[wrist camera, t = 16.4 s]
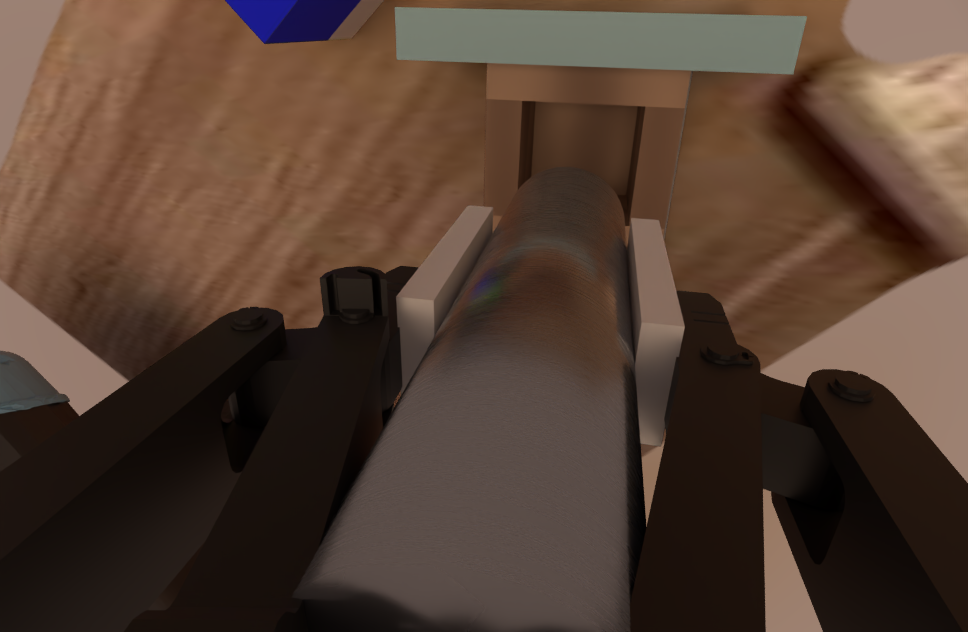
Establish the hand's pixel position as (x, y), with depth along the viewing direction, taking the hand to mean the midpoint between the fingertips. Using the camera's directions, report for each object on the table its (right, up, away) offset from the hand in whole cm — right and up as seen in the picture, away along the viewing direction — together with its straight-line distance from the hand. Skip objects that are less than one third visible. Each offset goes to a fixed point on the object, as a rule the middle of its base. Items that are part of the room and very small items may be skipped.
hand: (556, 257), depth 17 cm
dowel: (+1, +1, +3) cm, 3 cm away
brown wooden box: (+4, +9, +17) cm, 19 cm away
